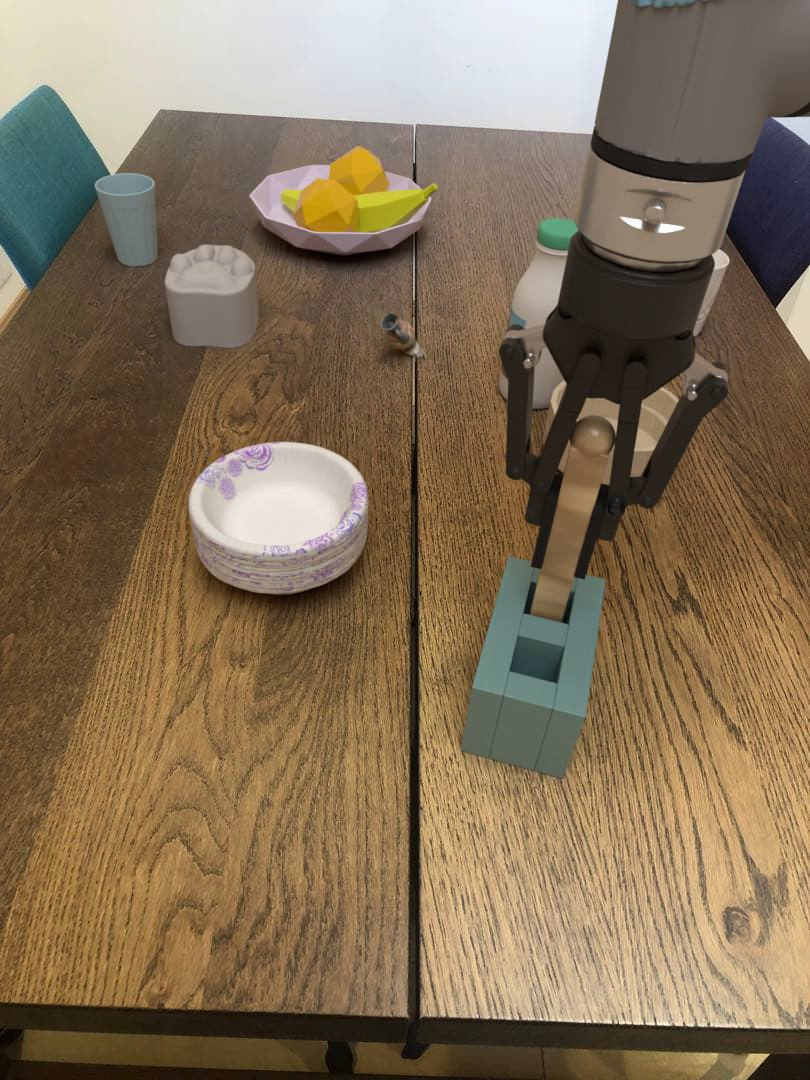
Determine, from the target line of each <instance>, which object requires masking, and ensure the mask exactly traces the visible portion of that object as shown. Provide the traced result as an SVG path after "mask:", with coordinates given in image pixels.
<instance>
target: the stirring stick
mask: <svg viewBox="0 0 810 1080" xmlns="http://www.w3.org/2000/svg"><path fill="white" fill-rule="evenodd" d="M615 438H616V435H615V430H614V428H613V426H612V424H611V423H610V422H609V421H608V420H607V419H605V418H604V417H601V416H597V415H589V416H585V417H583V418H581V419H580V420H578V421H577V422H576V424H575V426H574V429H573V431H572V434H571V436H570V444H571V446H570V450H569V454H568V458H567V462H566V466H565V470H564V474H563V473H562V475H563V479H562V483H561V487H560V492H559V496H558V502H557V506H556V510H555V514H554V519H553V523H552V527H551V531H550V535H549V539H548V543H547V547H546V551H545V555H544V560H543V564H542V568H541V569H540V573H539V577H538V582H537V586H536V590H535V594H534V598H533V602H532V606H531V610H530V615H532V616H536V617H540V618H545V619H549V620H553V621H557V622H561V621H562V618H563V614H564V611H565V607H566V604H567V601H568V597H569V594H570V590H571V587H572V583H573V580H574V575H575V571H576V568H577V564H578V561H579V557H580V554H581V550H582V547H583V543H584V540H585V536H586V533H587V529H588V526H589V522H590V519H591V515H592V512H593V508H594V506H595V503H596V499H597V496H598V492H599V489H600V485H601V482H602V478H603V475H604V471H605V468H606V464H607V461H608V457H609V453H610V451H611V450H612V448H613V447H614V444H615Z"/></svg>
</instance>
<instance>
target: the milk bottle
mask: <svg viewBox="0 0 810 1080" xmlns="http://www.w3.org/2000/svg"><path fill="white" fill-rule="evenodd" d="M577 231H578V229H577V226H576V224H575V221H574V220H571V219H567V218H559V217H554V218H553V217H551V218H546V219H544V220H542V221H541V222H540V223H539V225H538V228H537V233H536V241H535V246H536V252H535V253H534V254H535V255H534V257H533V259H532V261H531V263H530V265H529V266H528V268H527V269H526V270H525V272H524V274H523V275H522V276H521V278H520V279H519V281H518V283H517V284H516V285H517V286H516V287H515V290H514V293H513V297H512V299H511V306H510V311H509V316H508V322H507V328H508V327H509V326H511V325H513V324H518V325H521V326H522V327H524V329H527V328H531V327H535V326H539V325H543V324H545V323H546V319H547V317H548V316H549V314H550V313H551V312H552V311H553V310H554V309H555V307H556V306H557V304H558V299H559V294H560V289H561V284H562V279H563V274H564V269H565V264H566V259H567V254H568V249H569V245H570V240H571V238H572V236H573V235H574V234H575V233H576V232H577ZM507 328H506V329H507ZM563 380H564V378H563V377H562V375H561V373H560V371H559V369H558V367H557V365H556V363H555V361H554V360H553V358H552V356H551V354H550V352H549V350H548V348H547V347H544V348H543V349H542V353H541V357H540V360H539V363H538V364H537V365H536V366H535V370H534V389H533V409H532V410H543V409H549V406H550V401H551V398H552V394H553V391H554V389H555V388H556V387H557V386H558V385H559V384H560V383H561V382H562V381H563ZM498 389H499V392H500V394H501V396H502V397H503V398H504V399H505V400H506V401H508V378H507V375H506V372H505V370H504V367H503V364H502V363H501V366H500V372H499V378H498Z"/></svg>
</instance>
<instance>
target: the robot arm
mask: <svg viewBox="0 0 810 1080" xmlns="http://www.w3.org/2000/svg"><path fill="white" fill-rule="evenodd" d="M611 30H612V31H611V36H610V41H609V45H608V51H607V56H606V61H605V67H604V71H603V77H602V82H601V89H600V92H599V99H598V104H597V109H596V112H595V113H596V114H595V119H594V126H593V130H592V134H591V138H590V139H591V140H590V141H589V144H588V150H587V155H586V159H585V164H584V169H583V174H582V179H581V185H580V190H579V196H578V200H577V205H576V210H575V216H574V220H573V221H574V222H575V224H576V226H577V229H578V231H577V232H576V233H575V234H574V235H573V236H572V238H571V240H570V245H569V249H568V254H567V259H566V264H565V269H564V274H563V279H562V284H561V289H560V294H559V299H558V304H557V306H556V307H555V309H554V310H553V311H552V312H551V313H550V314H549V316H548V317H547V319H546V323H545V324H543V325H539V326H535V327H531V328H527V329H524V327H522V326H521V325H518V324H513V325H511V326H509V327H508V326H507V327H508V328H506V330H505V334H504V335H503V339H502V341H501V342H500V343H501V344H500V346H499V349H498V356H499V358H500V361H501V365H502V364H503V367H504V370H505V372H506V375H507V378H508V400H507V407H506V408H507V411H506V447H505V475H506V476H507V478H509V479H510V480H513V481H519V480H522V481H524V482H525V483H526V484H527V485H528V486H529V495H528V500H527V504H526V509H525V513H524V520H525V523H526V524H528V525H532V526H537V527H539V528H538V533H537V536H536V541H535V546H534V551H533V555H532V560H531V562H532V563H531V567H534V568H538V569H541V568H542V564H543V560H544V555H545V551H546V547H547V543H548V539H549V535H550V531H551V527H552V523H553V519H554V514H555V510H556V506H557V502H558V496H559V492H560V487H561V483H562V479H563V474H560V473H557V472H558V471H557V470H559V469H558V466H559V464H560V461H561V459H562V456H563V454H564V451H565V449H566V446H567V444H568V441H569V439H570V436H571V434H572V431H573V429H574V426H575V424H576V421H577V419H578V416H579V414H580V413H581V411H582V408H583V406H584V404H585V401H586V399H587V398H589V399H592V398H604V399H606V400H609V401H611V402H613V403H615V404H619V405H620V407H619V415H618V423H617V431H616V438H615V446H614V453H613V461H612V468H611V476H610V483H609V485H607V484H602V483H601V485H600V489H599V492H598V496H597V499H596V503H595V506H594V508H593V512H592V515H591V519H590V522H589V526H588V529H587V533H586V536H585V540H584V543H583V547H582V550H581V554H580V557H579V561H578V564H577V568H576V571H575V575H574V577H576V578H580V579H584V580H585V577H586V575H587V573H588V570H589V566H590V563H591V560H592V557H593V553H594V551H595V546H596V544H597V540H600V541H604V542H608V543H611V542H612V541H613V540H614V538H615V537H616V536H617V532H618V529H619V526H620V522H621V519H622V517H623V516H624V515H625V513H626V508H628V507H629V506H635V505H638V506H639V507H641V508H643V509H647V510H649V509H653V508H655V507H656V506H657V505H658V503H659V501H660V499H661V497H662V496H663V493H664V491H665V490H666V488H667V486H668V484H669V483H670V480H671V478H672V477H673V475H674V473H675V472H676V470H677V468H678V466H679V463H680V462H681V460H682V458H683V456H684V455H685V452H686V451H687V449H688V447H689V445H690V443H691V442H692V439H693V438H694V436H695V433H697V430H698V428H699V426H700V424H701V422H702V421H703V419H704V418H705V417H706V416H707V415H708V414H710V413H711V412H712V411H713V410H715V408H716V407H717V406H719V405H720V404H721V403H722V402H723V401H724V400H725V399H726V398H727V397H728V394H729V369H728V366H727V365H726V364H725V363H724V362H722V361H715V362H714V361H713V362H709V361H708V360H706V358H704V357H703V356H701V355H700V354H698V353H697V352H696V345H697V344H696V339H695V336H694V335H693V331H694V327H695V324H696V321H697V318H698V315H699V312H700V309H701V306H702V303H703V300H704V297H705V294H706V291H707V288H708V285H709V282H710V279H711V276H712V273H713V270H714V267H715V261H714V258H713V256H712V254H713V253H715V252H716V251H717V250H718V249H719V250H720V249H721V247H722V244H723V241H724V239H725V235H726V233H727V229H728V226H729V223H730V220H731V216H732V213H733V211H734V207H735V204H736V201H737V198H738V195H739V191H740V188H741V185H742V182H743V179H744V176H745V173H746V170H747V169H748V168H749V165H750V162H751V159H752V156H753V153H754V150H755V148H756V145H757V142H758V140H759V138H760V135H761V132H762V130H763V127H764V124H765V123H766V119H767V118H775V119H777V118H779V119H780V118H781V119H782V118H783V119H784V118H785V119H786V118H810V0H617V3H616V8H615V14H614V20H613V26H612V29H611ZM544 347H547V348H548V350H549V352H550V354H551V356H552V358H553V360H554V361H555V363H556V365H557V367H558V369H559V371H560V373H561V375H562V377H563V378H564V380H565V382H566V387H565V390H564V393H563V395H562V398H561V401H560V403H559V406H558V409H557V411H556V414H555V417H554V419H553V422H552V425H551V427H550V430H549V433H548V435H547V438H546V441H545V443H544V445H543V446H542V448H541V452H540V453H539V455H538V456H537V455H535V454H534V453H531V445H532V444H531V443H532V427H533V410H534V409H533V389H534V370H535V366H536V365H537V364H538V363H539V360H540V357H541V353H542V349H543V348H544ZM682 374H683V375H684V376H683V377H682V381H681V395H680V396H679V398H678V399H679V401H678V403H677V405H676V407H675V409H674V411H673V413H672V415H671V417H670V419H669V421H668V423H667V425H666V427H665V429H664V431H663V433H662V435H661V437H660V439H659V441H658V443H657V445H656V447H655V449H654V451H653V453H652V455H651V457H650V459H649V461H648V463H647V465H646V467H645V469H644V471H643V473H642V475H641V476H637V477H630V476H631V470H632V463H633V457H634V450H635V444H636V437H637V431H638V424H639V418H640V412H641V405H642V400H644V399H646V398H647V397H649V396H650V395H652V394H653V393H654V392H656V391H657V390H659V389H660V388H662V387H663V388H664V386H666V385H668V384H669V383H670V382H671V381H673V380H675V379H676V378H678V377H679V376H681V375H682Z"/></svg>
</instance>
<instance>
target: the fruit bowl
mask: <svg viewBox="0 0 810 1080" xmlns="http://www.w3.org/2000/svg"><path fill="white" fill-rule="evenodd" d="M437 191H439V189H438V184H436V183H434V182H432V183H431V184H430V185H429V186H427V187H426V188H425V189H423V188H421V187H420V186H419V185H418V184H416V183H415V182H414V181H413V180H412V179H411V178H409V177H407V176H403V175H399V174H395V173H392V172H389V171H385V169H384V166H383V164H382V162H381V159H380V158H379V157H377V156H376V155H375V154H373V153H372V151H369V150H368V149H365V148H364V147H362V146H359V145H357V146H355V147H354V148H352V149H350V150H349V151H348V152H346V153H345V154H343V155H341V156H340V157H339V158H337V159H336V160H335V161H333V162H332V163H330V164H310V165H305V166H301V167H297V168H293V169H289V170H285V171H281V172H277V173H272V174H268V175H267V176H266V177H265V178H264V179H263V180H262V181H261V182H259V184H258V185H257V186H256V187H255V188H254V189H253V190H252V192H250V194H249V195H248V197H249V199H250V201H251V203H252V205H253V207H254V210H255V211H256V214H257V216H258V217H259V220H260V222H261V225H262V226H263V227H264V228H265V229H267V230H268V231H270V232H271V233H273V234H275V235H276V236H278V237H279V238H281V239H283V240H284V241H286V242H287V243H289V244H291V245H292V246H294V247H295V248H300V249H305V250H309V251H316V252H320V253H325V254H331V255H337V256H343V257H344V256H351V255H357V254H362V253H369V252H376V251H381V250H383V251H384V250H389V249H393V248H394V247H396V246H397V245H399V244H400V243H401V242H403V241H404V240H405V239H407V238H408V237H410V236H412V235H413V234H415V233H416V232H417V231H419V230H420V229H421V227H422V225H423V222H424V219H425V217H426V215H427V212H428V210H429V207H430V205H431V202H432V199H433V198H432V197H431V196H432V195H433V194H435V192H437Z"/></svg>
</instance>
